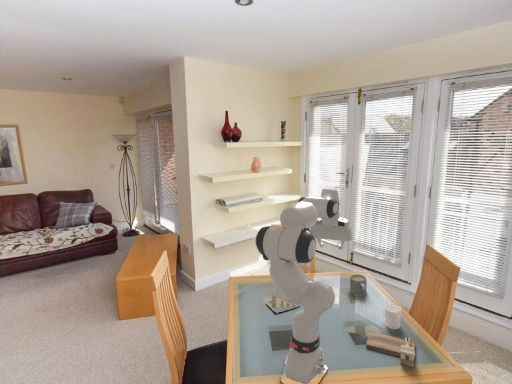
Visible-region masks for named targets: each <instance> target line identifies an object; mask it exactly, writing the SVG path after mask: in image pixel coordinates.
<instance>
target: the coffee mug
mask: <svg viewBox="0 0 512 384" xmlns="http://www.w3.org/2000/svg"><path fill="white" fill-rule="evenodd" d="M349 286H350V287H349V288H350V289H349V290H350V291H351V292H350V291H349V292H350V294H351V295H353V294H354V296H356V295H357V296H358V297H363V296H366V295H367V288H368V287H367V277H366V276H365V275H363V274H358V273H357V274H356V273H355V274H351V275H350V277H349Z"/></svg>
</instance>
